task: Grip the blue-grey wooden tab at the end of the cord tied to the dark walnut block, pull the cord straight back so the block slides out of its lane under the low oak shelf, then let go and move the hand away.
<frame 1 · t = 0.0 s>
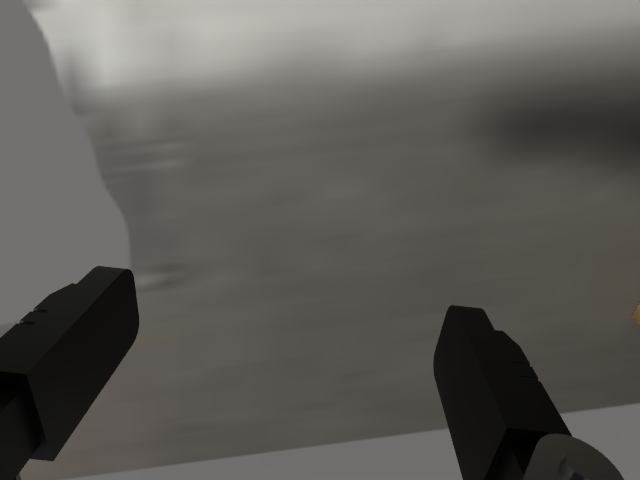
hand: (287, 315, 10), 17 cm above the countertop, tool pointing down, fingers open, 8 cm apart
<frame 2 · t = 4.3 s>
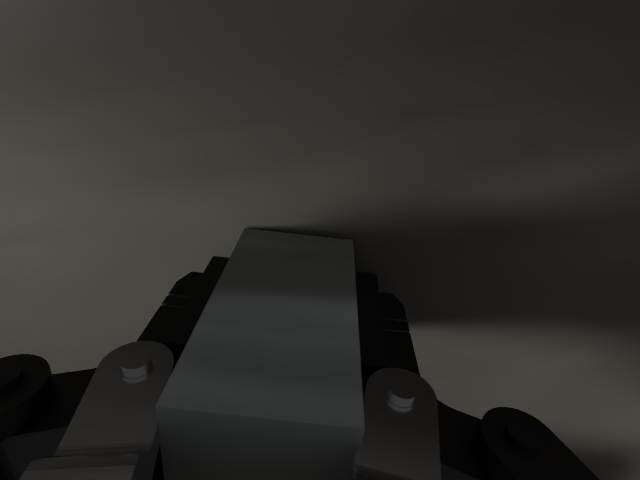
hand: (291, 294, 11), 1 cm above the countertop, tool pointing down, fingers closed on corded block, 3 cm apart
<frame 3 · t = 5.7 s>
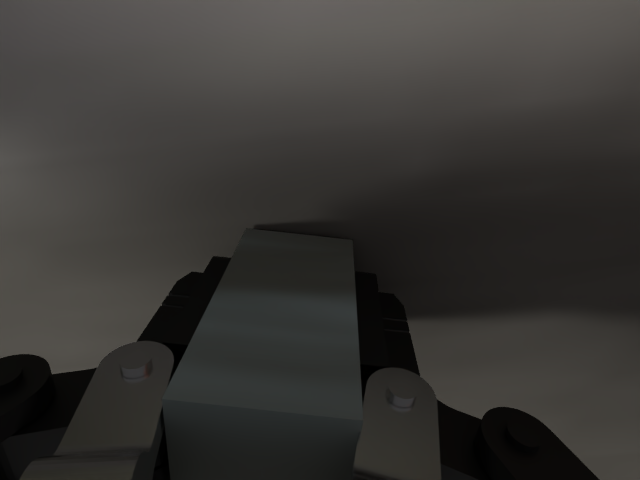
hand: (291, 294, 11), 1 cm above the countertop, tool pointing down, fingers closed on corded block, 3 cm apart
when the fingers open (1 cm above the countertop, at t = 7.6 s): corded block stays where it is, on the countertop.
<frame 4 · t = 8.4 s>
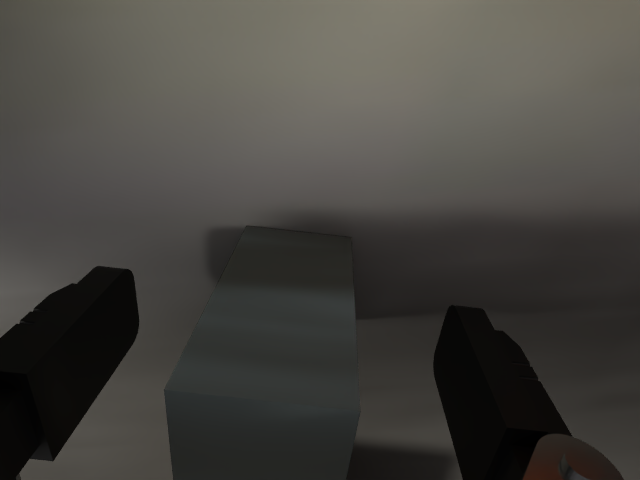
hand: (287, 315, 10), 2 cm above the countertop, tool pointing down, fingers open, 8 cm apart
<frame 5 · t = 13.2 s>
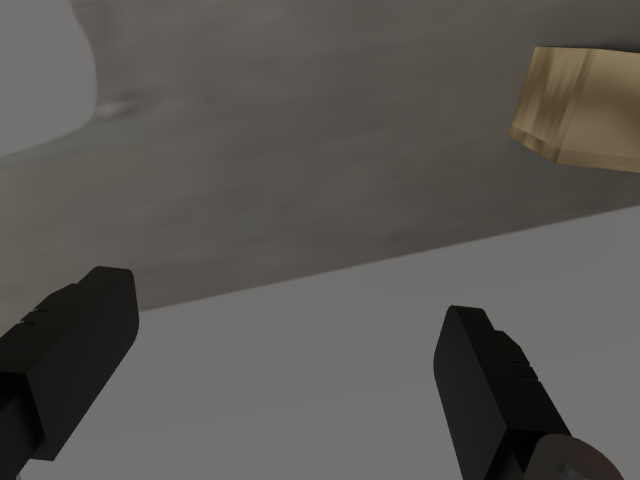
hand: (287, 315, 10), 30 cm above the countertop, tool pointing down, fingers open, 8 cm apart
shelf: (617, 101, 36), on the countertop
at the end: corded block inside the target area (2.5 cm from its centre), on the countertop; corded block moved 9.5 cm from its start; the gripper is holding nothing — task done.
